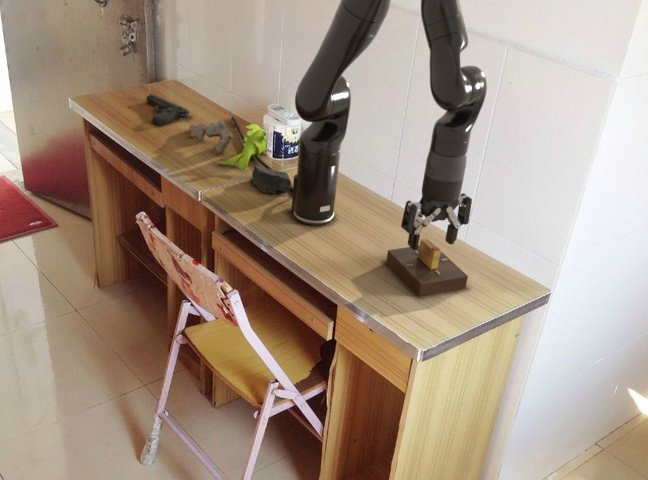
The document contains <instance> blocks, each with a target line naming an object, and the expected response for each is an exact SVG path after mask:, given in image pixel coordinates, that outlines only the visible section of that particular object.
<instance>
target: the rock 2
mask: <svg viewBox="0 0 648 480" xmlns="http://www.w3.org/2000/svg"><path fill="white" fill-rule="evenodd" d="M272 169H273V168H271V169H266V168H265V167H262V166H260V165H255V166H254V167H253V170H252V174H251V176H252V181H253V183H254V185H255V186H256V187H257V188H258V189H259V191H261V192H262V193H266V194H286V193H287V192H288V191H289V190H290V188H291V187H293V183H292V181H291V178H290V176H289V174H288V173H287V172H286V171H285V172H284V171H279V170H276V169H273V170H272Z"/></svg>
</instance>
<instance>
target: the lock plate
mask: <svg viewBox="0 0 648 480" xmlns="http://www.w3.org/2000/svg"><path fill="white" fill-rule="evenodd" d="M418 251H419V245H418V249H417V250H413V249H411V248H410V246H407V247H400V248H394V249H388V250H387V255H386V260H385V261H386V264H387V265H388V266H389V267H390V268H391V269H392V270H393V272H395V273H396V274H397V276H399V278H401V279H402V281H403V282H404V283H405V284H406V285H407V286H408V287H409V288H410V289H411V290H412V291H413V292H414V293H415V294H416V295H417V296H418V297H424V296H430V295H435V294H441V293H446V292H453V291H457V290H458V291H459V290H463V289H466V287H467V282H468V278H469V275H468V274H467V273H466V272H465V271H463V270H462V269H461V268H460V267H459V266H458V265H457V264H456V263H454V262H453V260H452V259H450V258H449V257H448V256H447V255H446V254H445V253H444V252H443V251H441V252H440V257H439V262H438V268H437V269H430V268H429V267H428V266H427V265H426V264H425V263H424V262H423V261H422V260H420V259H419V258H418Z"/></svg>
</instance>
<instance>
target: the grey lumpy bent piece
mask: <svg viewBox="0 0 648 480" xmlns="http://www.w3.org/2000/svg"><path fill="white" fill-rule="evenodd" d="M188 130H189V132H190V133H191V137H192V138H196V139H198V141H200V142H203V141H204V140H205V138H206V137H207V138H214V137H216V138H217V137H219V141H218V142H217V144H216V146H215V148H214V149H215V153H216V154H217V155H222V154H223V153H224V152H225V150H226V149H227V147H228V146H229V145H230V144H231V142H232V140H233V137H234V134H233V133H232V132H230V131H229V129H228V127H226V125H225V122H224V121H223V120H222V119H219V120H218V121H217V122H216V123H214V122H212V123H210V124H209V125H208V126H207V124H205V123H200V124H198V125H196V124H190V125H189V127H188Z"/></svg>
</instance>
